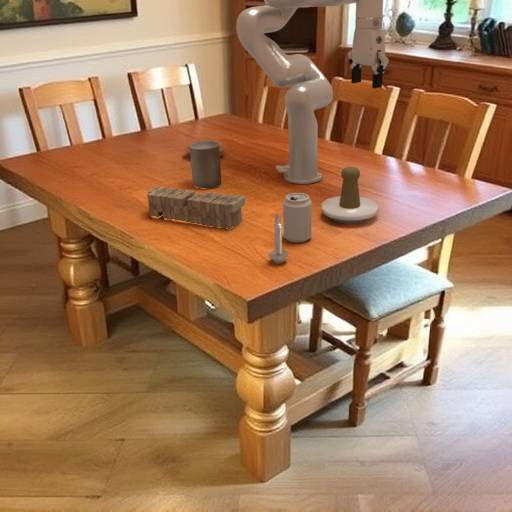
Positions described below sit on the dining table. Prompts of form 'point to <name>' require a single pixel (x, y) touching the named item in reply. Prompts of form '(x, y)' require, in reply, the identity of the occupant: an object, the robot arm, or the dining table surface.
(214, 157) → the pillar candle
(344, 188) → the cork
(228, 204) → the block tower
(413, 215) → the dining table surface
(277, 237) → the screw
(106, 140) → the dining table surface
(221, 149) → the pie
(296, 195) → the can
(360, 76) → the robot arm
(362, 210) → the grey plate
